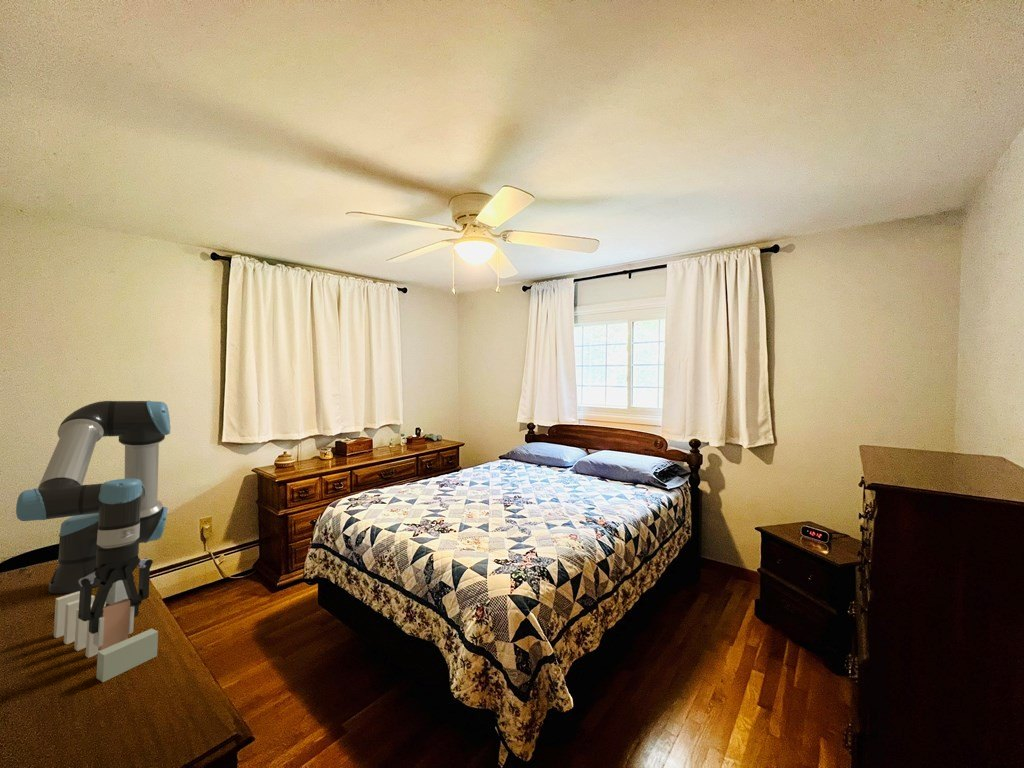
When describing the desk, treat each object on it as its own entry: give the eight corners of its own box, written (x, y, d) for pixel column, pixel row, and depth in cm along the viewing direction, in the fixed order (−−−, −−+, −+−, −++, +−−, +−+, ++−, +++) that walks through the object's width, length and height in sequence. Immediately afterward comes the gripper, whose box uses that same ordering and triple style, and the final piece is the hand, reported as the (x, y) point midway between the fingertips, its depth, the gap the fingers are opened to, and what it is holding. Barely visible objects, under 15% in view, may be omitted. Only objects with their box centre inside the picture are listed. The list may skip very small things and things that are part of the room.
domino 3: (74, 649, 100) (76, 609, 100) (101, 638, 105) (103, 600, 105) (77, 651, 99) (79, 610, 100) (104, 639, 104) (106, 601, 104)
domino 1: (53, 636, 105) (55, 598, 105) (79, 626, 109) (81, 590, 110) (56, 638, 104) (58, 599, 105) (82, 628, 109) (84, 591, 109)
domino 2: (63, 642, 102) (65, 603, 103) (90, 632, 107) (92, 595, 107) (66, 644, 102) (68, 605, 102) (93, 633, 106) (95, 596, 107)
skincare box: (131, 599, 124) (133, 561, 124) (114, 606, 120) (116, 566, 120) (119, 596, 126) (121, 558, 126) (102, 602, 122) (104, 563, 122)
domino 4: (85, 656, 98) (87, 615, 98) (112, 644, 102) (114, 605, 102) (88, 657, 97) (90, 616, 97) (115, 646, 102) (117, 607, 102)
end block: (96, 678, 90) (97, 651, 90) (150, 652, 99) (151, 628, 100) (102, 682, 89) (104, 655, 89) (157, 656, 98) (158, 631, 98)
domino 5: (128, 640, 99) (130, 600, 99) (101, 651, 95) (103, 609, 95) (124, 638, 100) (126, 598, 100) (97, 650, 95) (100, 608, 96)
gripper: (74, 558, 88) (68, 664, 87) (170, 534, 105) (166, 622, 104) (59, 553, 91) (53, 655, 90) (154, 529, 108) (150, 616, 107)
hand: (113, 637), depth 97 cm, fingers closed on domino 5, 5 cm apart
